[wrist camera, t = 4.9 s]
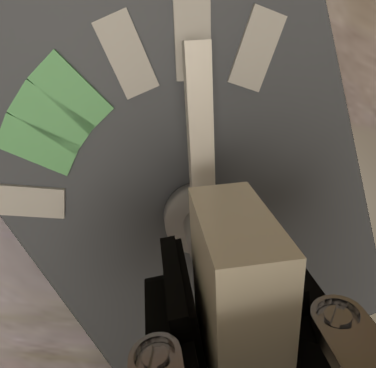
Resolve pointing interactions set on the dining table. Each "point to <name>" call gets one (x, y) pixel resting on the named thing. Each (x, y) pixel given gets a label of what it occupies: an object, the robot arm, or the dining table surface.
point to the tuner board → (170, 143)
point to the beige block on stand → (233, 246)
